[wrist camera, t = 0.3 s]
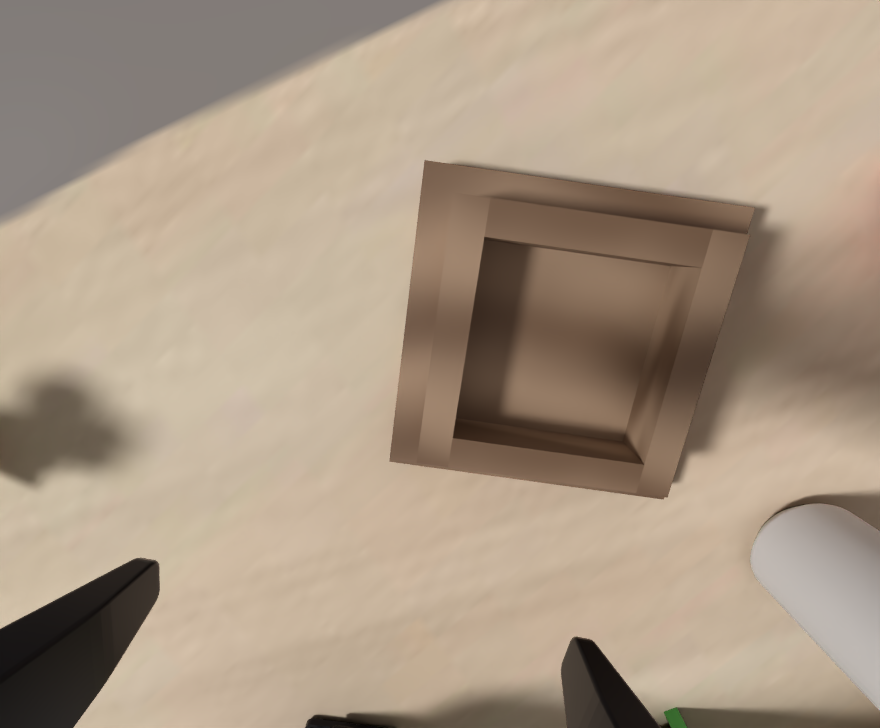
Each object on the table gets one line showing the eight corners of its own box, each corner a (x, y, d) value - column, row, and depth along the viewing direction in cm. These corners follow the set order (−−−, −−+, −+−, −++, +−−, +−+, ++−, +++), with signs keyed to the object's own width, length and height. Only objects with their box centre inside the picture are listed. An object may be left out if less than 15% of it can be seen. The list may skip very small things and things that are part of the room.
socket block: (650, 484, 24) (689, 528, 20) (393, 448, 24) (381, 486, 20) (732, 211, 20) (800, 200, 16) (426, 167, 20) (420, 145, 16)
